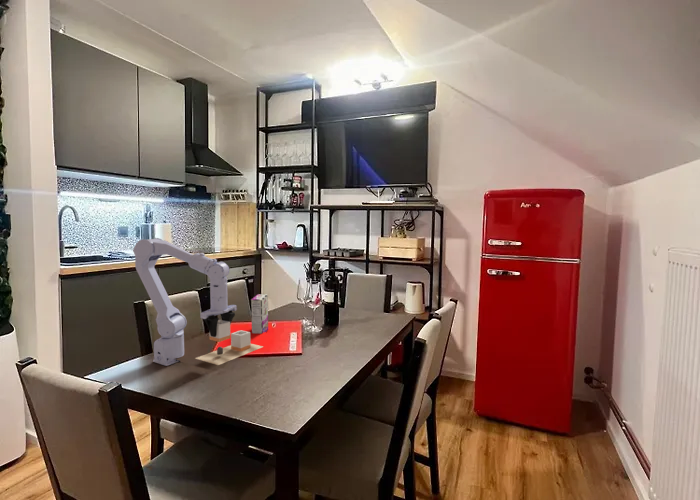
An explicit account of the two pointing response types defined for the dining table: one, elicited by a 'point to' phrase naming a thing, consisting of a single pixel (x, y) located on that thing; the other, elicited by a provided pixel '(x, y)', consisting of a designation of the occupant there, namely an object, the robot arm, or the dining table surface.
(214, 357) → the pin board
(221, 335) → the loose sleeve
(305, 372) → the dining table surface
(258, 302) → the candy bar box
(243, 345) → the seated sleeve
